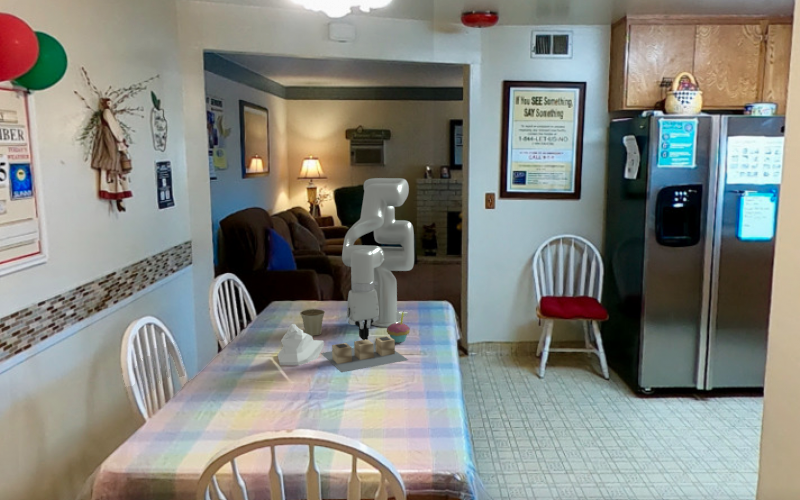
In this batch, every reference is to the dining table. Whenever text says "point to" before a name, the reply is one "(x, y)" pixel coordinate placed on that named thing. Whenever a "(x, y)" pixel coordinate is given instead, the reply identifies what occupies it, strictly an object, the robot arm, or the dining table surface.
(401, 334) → the cupcake
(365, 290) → the robot arm
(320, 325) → the flower pot
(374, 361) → the mat
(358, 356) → the plain block
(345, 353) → the digit block
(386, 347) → the digit block
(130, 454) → the dining table surface
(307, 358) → the white faceted lump
